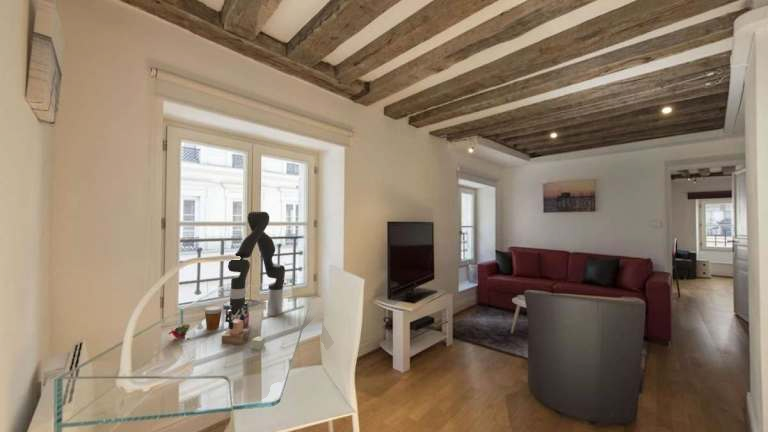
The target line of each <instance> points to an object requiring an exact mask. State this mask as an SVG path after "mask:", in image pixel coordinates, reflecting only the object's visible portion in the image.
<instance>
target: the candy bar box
mask: <svg viewBox="0 0 768 432" xmlns="http://www.w3.org/2000/svg"><path fill="white" fill-rule="evenodd" d="M245 303H247V304H248V313H247V314H246V315H245V319H244V323H243V328H245V327H247V326H248V325H249V324H250V323H249V322H250V320H249V319H250V298H249V297H245ZM229 306H230V305H229ZM229 310H231V306H230V309H229ZM245 311H246V310H245ZM232 316H234V315H233V314H232ZM235 319H238V320H240V314H239V315H237V316H236V318H235ZM235 319H234V320H235ZM231 320H232V318H231Z"/></svg>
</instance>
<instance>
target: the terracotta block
mask: <svg viewBox="0 0 768 432" xmlns="http://www.w3.org/2000/svg"><path fill="white" fill-rule="evenodd" d="M243 329H244V327H243V320H238V319H235V320H234V321H233V329H229V330H230V333H232V334H239V333H241V332H242V331H243Z"/></svg>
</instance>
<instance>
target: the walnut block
mask: <svg viewBox="0 0 768 432" xmlns="http://www.w3.org/2000/svg"><path fill="white" fill-rule="evenodd" d="M249 338H250V328H243V331H242V332H241V333H239V334H232V333H230V329H228V330H227V331H226V332H224V333H223V334H222V335H221V345H223V344H225V345H227V346H242V345H243V344H244V343H245V342H246V341H247V340H249Z"/></svg>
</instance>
